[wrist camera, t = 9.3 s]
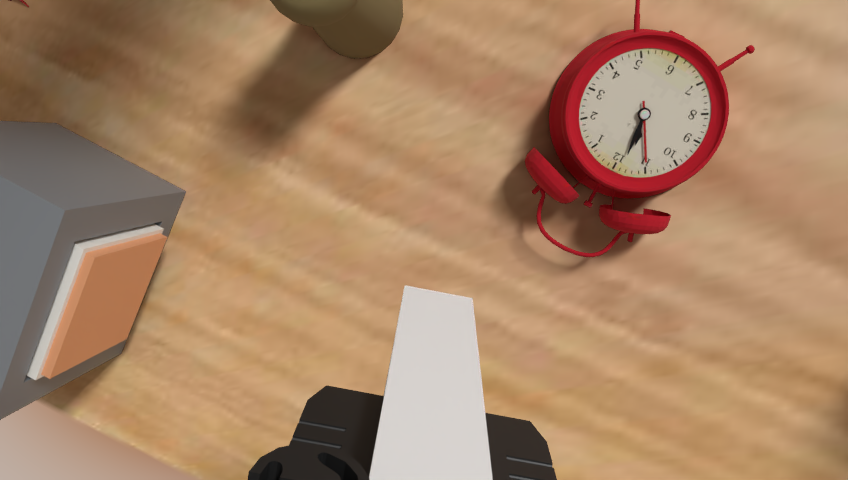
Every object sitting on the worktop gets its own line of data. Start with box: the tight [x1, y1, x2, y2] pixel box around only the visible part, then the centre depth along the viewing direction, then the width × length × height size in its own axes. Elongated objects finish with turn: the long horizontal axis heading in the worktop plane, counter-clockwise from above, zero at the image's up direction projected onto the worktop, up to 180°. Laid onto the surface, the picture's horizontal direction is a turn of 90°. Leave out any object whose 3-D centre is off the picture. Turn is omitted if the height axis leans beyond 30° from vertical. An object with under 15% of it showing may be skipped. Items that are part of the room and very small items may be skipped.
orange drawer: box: [26, 223, 167, 380], centre depth 39 cm, size 8×9×8 cm
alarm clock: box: [525, 0, 755, 257], centre depth 36 cm, size 10×6×15 cm
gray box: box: [0, 121, 186, 420], centre depth 39 cm, size 11×14×12 cm
